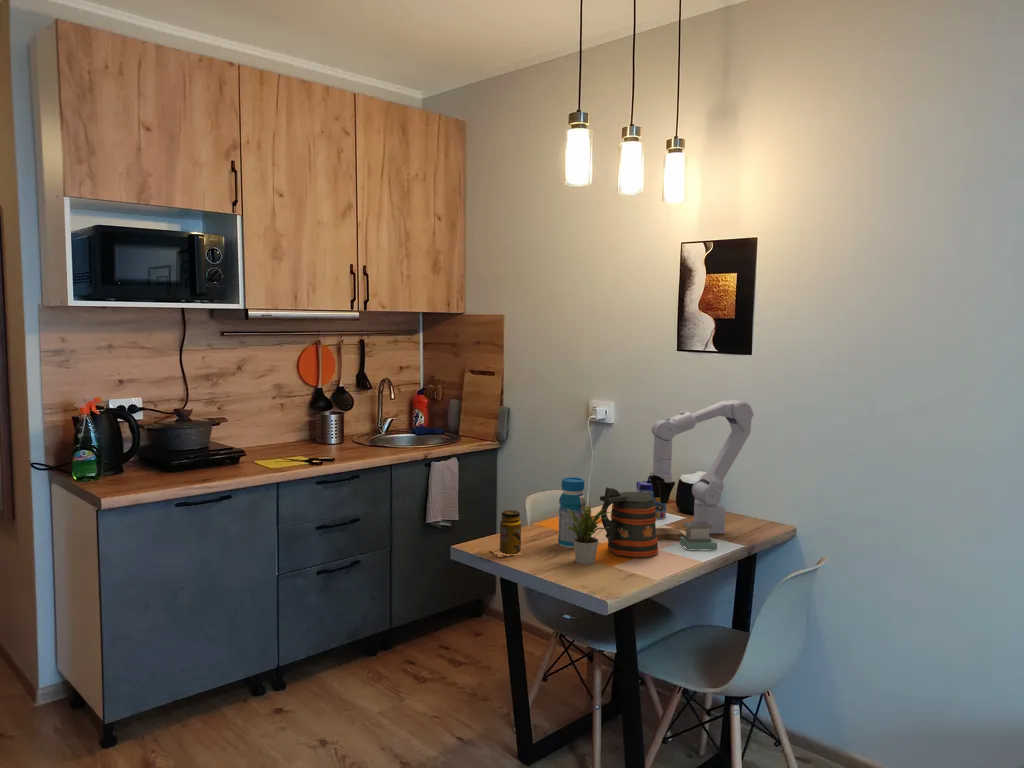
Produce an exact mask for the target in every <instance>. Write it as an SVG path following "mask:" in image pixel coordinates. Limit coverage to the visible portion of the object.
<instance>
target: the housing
mask: <svg viewBox="0 0 1024 768" xmlns="http://www.w3.org/2000/svg"><path fill="white" fill-rule="evenodd" d="M683 526H684V527H685V534H684V539H685V540H686V541H687V542H711V539H712V538H711V536H710V534H709V529H712V525H710V524H709V523H708V522H694V521H683Z"/></svg>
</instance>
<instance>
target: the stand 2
mask: <svg viewBox="0 0 1024 768" xmlns="http://www.w3.org/2000/svg"><path fill="white" fill-rule="evenodd" d="M679 543H681V544H682V545H683V546H682V545H681V544H680V545H681V546H682V547H684V546H685V547H686V548H687V549H717V550H718V542H717V541H715V540H714V539H713V538H711V542H687V541H686V540H685V539H684V537H680V540H679ZM685 547H684V548H685ZM686 548H685V549H686ZM687 549H686V550H687Z"/></svg>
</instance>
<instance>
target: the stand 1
mask: <svg viewBox="0 0 1024 768" xmlns="http://www.w3.org/2000/svg"><path fill="white" fill-rule="evenodd" d="M684 535H685V534H684V533H683V532H682V531H681V530H680V529H679V528H678V527H656V536H657V540H674V541H680V537H684Z"/></svg>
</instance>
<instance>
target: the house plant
mask: <svg viewBox="0 0 1024 768" xmlns="http://www.w3.org/2000/svg"><path fill="white" fill-rule="evenodd" d="M582 506H583V505H582ZM585 507H586V508H585V509H584V506H583V510H584V516H583V518H580V524H579V521H578V519H577V517H576V515H575V514H574V513H573V512H572V511H571V510H570V509H568V508H566V509H568V510H569V512H570V513H571V515H572V516H573V518H574V519H573V518H572V517H571V516H570V515H569V514H568V515H569V516H570V517H571V518H572V519H573V520H574V521H575V522H574V521H573V526H574V527H571V526H569V527H568V529H567V530H573V531H574V532H575V533H576V535H577V537H575V538H574V539H573V543H574V548H573V549H574V556H575V557H574V558H575V562H576V563H577V564H580V565H586V566H587V565H593V564H594V563H596V556H597V551H598V545H599V539H598V538H596V536H597V535H598V534H599V533H601V532H602V531H603V530H605V531H606V529H605V528H604V527H599V525H598V524H599V523H600V522H602V519H601V516H602V515H604V514H607V515H608V514H611V513H614V512H611V511H610V512H609V511H607V512H606V513H604V512H603V511H604V510H605V509H607V508H605V509H603V510H600V511H598V512H597V513H596V514H595V515H592V509H591V504H588V505H587V506H585ZM607 510H608V509H607ZM602 513H604V514H602ZM601 514H602V515H601ZM603 519H609V518H603ZM575 523H576V524H577V526H578V528H579V530H580V532H581V534H582V536H581V534H580V532H579V530H578V528H577V526H576V524H575ZM580 525H581V526H580ZM607 528H609V527H607ZM598 530H600V531H599V532H597V533H596V531H598ZM607 531H608V530H607ZM608 532H609V531H608ZM594 534H595V535H594ZM592 535H594V536H592Z"/></svg>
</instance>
